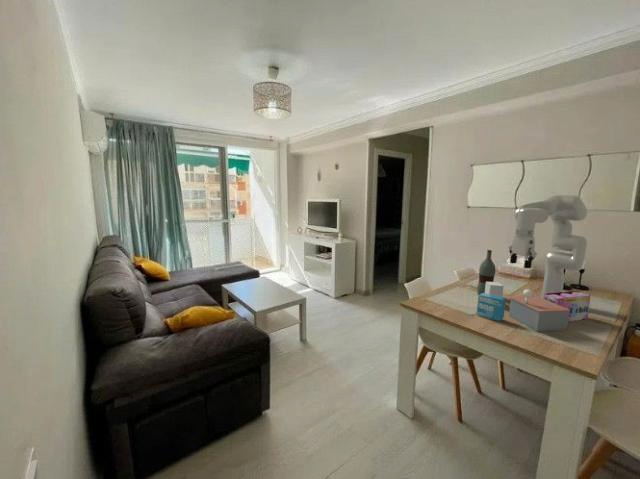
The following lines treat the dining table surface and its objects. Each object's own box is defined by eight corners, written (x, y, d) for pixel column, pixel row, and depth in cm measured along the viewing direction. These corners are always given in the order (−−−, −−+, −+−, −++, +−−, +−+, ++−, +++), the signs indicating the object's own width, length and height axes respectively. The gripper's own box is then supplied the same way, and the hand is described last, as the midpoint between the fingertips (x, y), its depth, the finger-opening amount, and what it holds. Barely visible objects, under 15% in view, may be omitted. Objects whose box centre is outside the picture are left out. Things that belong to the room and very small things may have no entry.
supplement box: (501, 306, 169) (504, 286, 166) (487, 305, 170) (490, 285, 168) (496, 301, 176) (498, 282, 174) (483, 300, 177) (485, 281, 175)
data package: (476, 315, 156) (478, 294, 154) (478, 312, 159) (480, 292, 157) (501, 322, 148) (504, 300, 146) (503, 319, 151) (506, 298, 149)
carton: (535, 314, 158) (537, 297, 156) (566, 330, 140) (569, 311, 138) (508, 315, 156) (511, 298, 154) (536, 331, 138) (539, 312, 137)
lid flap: (537, 297, 156) (539, 283, 155) (570, 311, 138) (572, 295, 137) (509, 298, 154) (510, 283, 153) (538, 312, 136) (540, 296, 135)
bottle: (494, 298, 181) (499, 252, 176) (478, 296, 184) (483, 251, 179) (490, 293, 190) (495, 249, 185) (475, 291, 193) (480, 248, 188)
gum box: (573, 313, 160) (577, 290, 158) (589, 319, 153) (594, 295, 150) (539, 316, 155) (543, 293, 153) (554, 323, 148) (558, 298, 145)
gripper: (545, 235, 137) (540, 270, 140) (518, 230, 154) (514, 261, 157) (531, 235, 136) (526, 270, 139) (505, 230, 153) (501, 261, 156)
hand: (519, 265), depth 148 cm, fingers open, 9 cm apart
